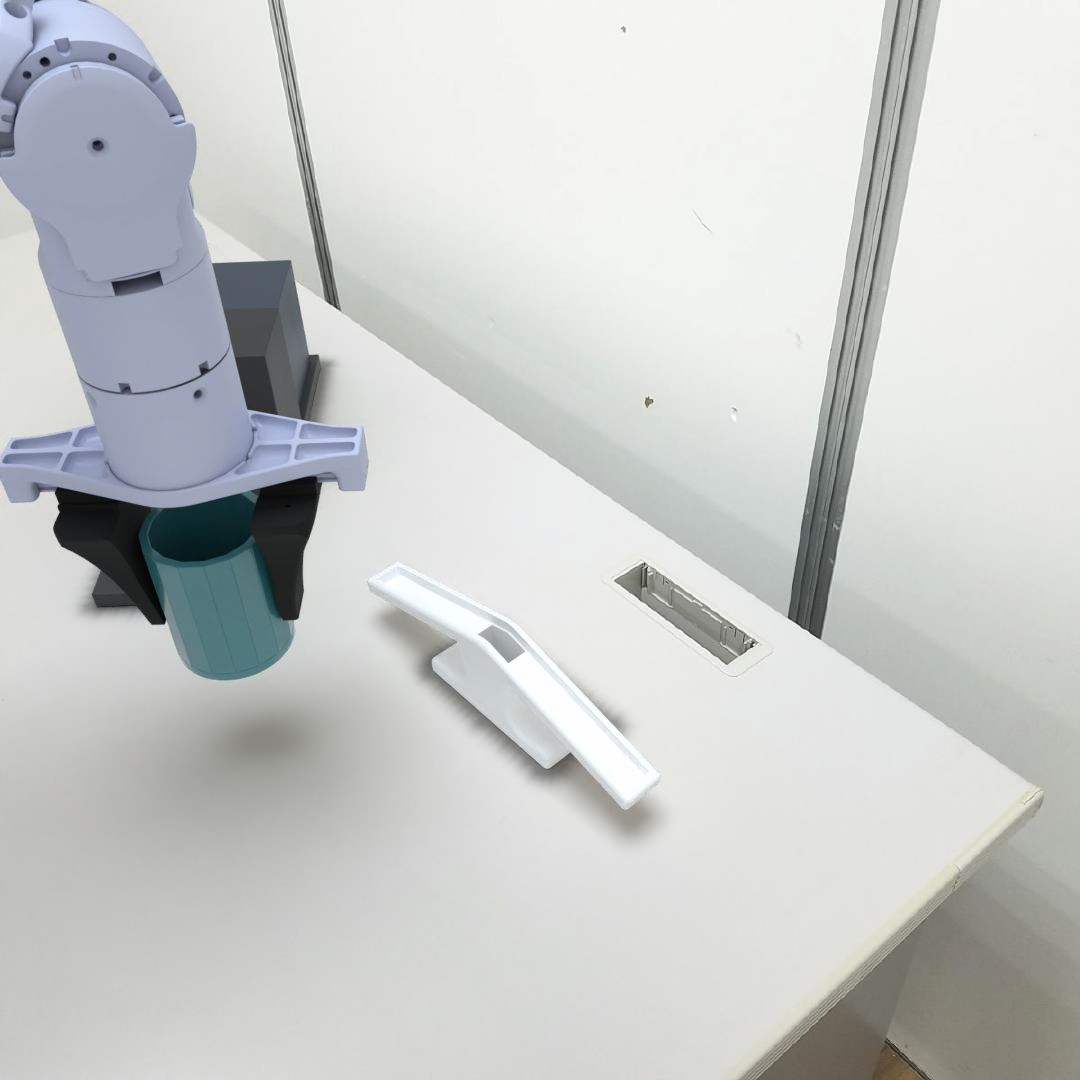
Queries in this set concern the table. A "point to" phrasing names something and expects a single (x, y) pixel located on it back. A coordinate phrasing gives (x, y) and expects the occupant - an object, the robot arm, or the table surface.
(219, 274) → the coffee maker
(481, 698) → the t-shaped cleat
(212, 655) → the cup
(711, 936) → the table surface
